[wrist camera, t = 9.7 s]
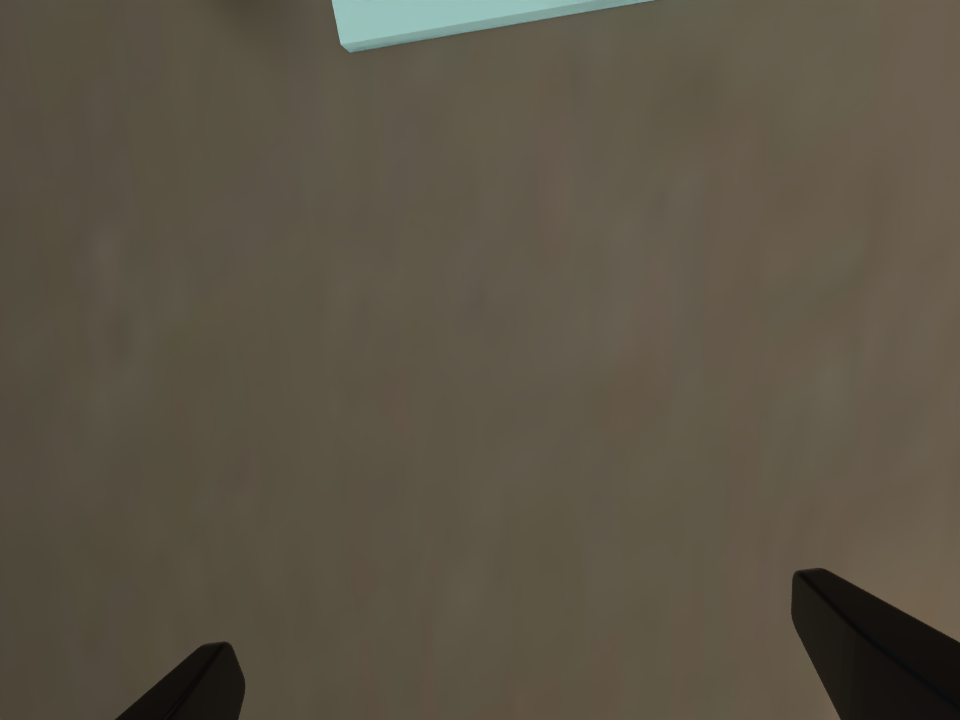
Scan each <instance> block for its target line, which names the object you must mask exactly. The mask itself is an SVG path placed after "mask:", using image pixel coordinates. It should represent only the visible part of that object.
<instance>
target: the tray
mask: <svg viewBox="0 0 960 720" xmlns="http://www.w3.org/2000/svg"><path fill="white" fill-rule="evenodd" d="M646 1H652V0H332V4H333V9H334V13H335V18H336V23H337V28H338V33H339V38H340V42H341V45H342V46H343V47H344V48H345V49H346V50H347V51H349V52H350V53H351V52H356V51H362V50H368V49H374V48H380V47H385V46H391V45H397V44H403V43H409V42H414V41H420V40H426V39H432V38H438V37H443V36H449V35H455V34H461V33H466V32H472V31H478V30H484V29H490V28H495V27H501V26H507V25H513V24H519V23H524V22H530V21H536V20H542V19H548V18H553V17H559V16H565V15H571V14H577V13H582V12H588V11H594V10H600V9H605V8H611V7H617V6H623V5H629V4H634V3H640V2H646Z"/></svg>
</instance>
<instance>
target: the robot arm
mask: <svg viewBox="0 0 960 720" xmlns="http://www.w3.org/2000/svg"><path fill="white" fill-rule="evenodd" d="M791 615H792V620H793V623H794V626H795V629H796V631H797V633H798V635H799V637H800V639H801V641H802V643H803V645H804V647H805V649H806V651H807V653H808V655H809V657H810V659H811V661H812V663H813V665H814V667H815V669H816V671H817V673H818V675H819V677H820V679H821V681H822V683H823V685H824V687H825V689H826V691H827V693H828V695H829V697H830V699H831V701H832V703H833V705H834V707H835V709H836V711H837V713H838V715H839V717H840V719H841V720H960V642H958V641H956V640H954V639H953V638H951V637H949V636H947V635H945V634H943V633H942V632H940V631H938V630H936V629H934V628H932V627H931V626H929V625H927V624H925V623H923V622H922V621H920V620H918V619H916V618H914V617H912V616H911V615H909V614H907V613H905V612H903V611H901V610H900V609H898V608H896V607H894V606H892V605H890V604H889V603H887V602H885V601H883V600H881V599H879V598H878V597H876V596H874V595H872V594H870V593H868V592H867V591H865V590H863V589H861V588H859V587H857V586H856V585H854V584H852V583H850V582H848V581H846V580H845V579H843V578H841V577H839V576H837V575H835V574H834V573H832V572H830V571H828V570H826V569H823V568H813V569H805V570H798V571H796V572H795V573H794V575H793V579H792V603H791ZM244 694H245V679H244V676H243V673H242V670H241V668H240V665H239V663H238V660H237V657H236V655H235V652H234V650H233V647H232V645H231V644H230V643H228V642H216V643H208V644H204V645H202V646H200V647H199V648H198V649H196V650H195V651H194V652H193V653H192V654H191V655H189V656H188V657H187V658H186V659H185V660H184V661H182V662H181V663H180V664H179V665H178V666H177V667H175V668H174V669H173V670H172V671H171V672H170V673H168V674H167V675H166V676H165V677H164V678H163V679H162V680H160V681H159V682H158V683H157V684H156V685H155V686H153V687H152V688H151V689H150V690H149V691H148V692H146V693H145V694H144V695H143V696H142V697H141V698H139V699H138V700H137V701H136V702H135V703H134V704H133V705H131V706H130V707H129V708H128V709H127V710H126V711H124V712H123V713H122V714H121V715H120V716H119V717H117V718H116V719H115V720H238V718H239V715H240V711H241V707H242V703H243V699H244Z"/></svg>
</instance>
